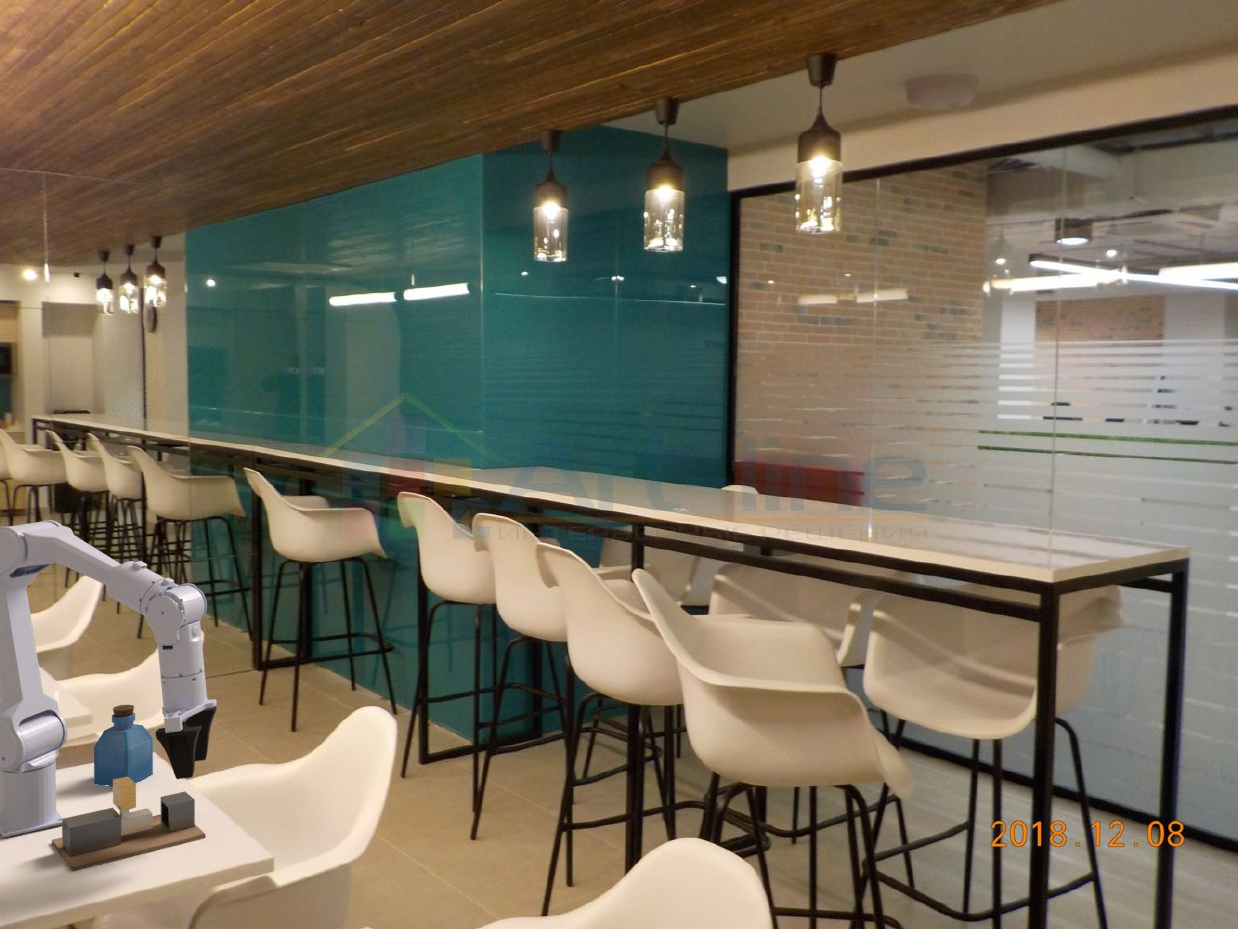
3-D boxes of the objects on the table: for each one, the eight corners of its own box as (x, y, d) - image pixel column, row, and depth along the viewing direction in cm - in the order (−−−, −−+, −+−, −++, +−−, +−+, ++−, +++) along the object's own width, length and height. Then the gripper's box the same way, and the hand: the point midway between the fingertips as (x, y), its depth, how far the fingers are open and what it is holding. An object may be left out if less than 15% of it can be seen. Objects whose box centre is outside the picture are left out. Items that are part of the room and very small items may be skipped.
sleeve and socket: (62, 847, 144) (62, 818, 144) (185, 818, 155) (185, 791, 155) (69, 857, 141) (69, 828, 141) (194, 826, 152) (194, 799, 152)
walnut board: (52, 843, 147) (51, 839, 147) (179, 813, 158) (179, 810, 158) (72, 871, 138) (72, 867, 138) (205, 837, 150) (205, 834, 150)
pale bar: (69, 839, 145) (69, 788, 144) (145, 821, 151) (145, 772, 151) (76, 848, 142) (76, 796, 141) (153, 829, 148) (153, 780, 148)
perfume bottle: (128, 788, 167) (127, 714, 167) (94, 784, 169) (93, 711, 168) (152, 775, 173) (152, 703, 173) (119, 771, 175) (119, 700, 174)
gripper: (200, 681, 140) (209, 782, 140) (223, 658, 154) (232, 749, 155) (144, 688, 139) (154, 788, 139) (173, 664, 153) (182, 755, 154)
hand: (191, 768), depth 147 cm, fingers open, 7 cm apart
